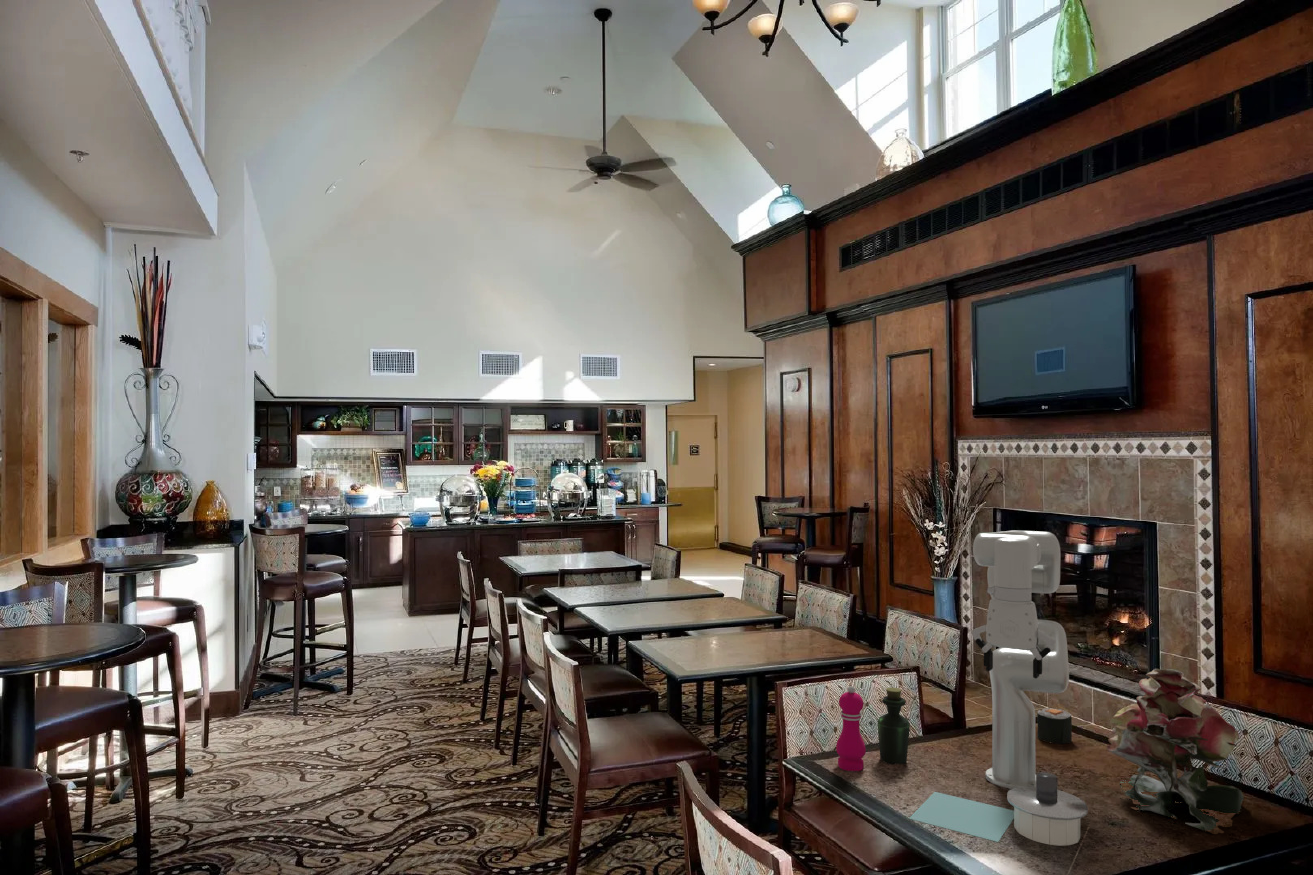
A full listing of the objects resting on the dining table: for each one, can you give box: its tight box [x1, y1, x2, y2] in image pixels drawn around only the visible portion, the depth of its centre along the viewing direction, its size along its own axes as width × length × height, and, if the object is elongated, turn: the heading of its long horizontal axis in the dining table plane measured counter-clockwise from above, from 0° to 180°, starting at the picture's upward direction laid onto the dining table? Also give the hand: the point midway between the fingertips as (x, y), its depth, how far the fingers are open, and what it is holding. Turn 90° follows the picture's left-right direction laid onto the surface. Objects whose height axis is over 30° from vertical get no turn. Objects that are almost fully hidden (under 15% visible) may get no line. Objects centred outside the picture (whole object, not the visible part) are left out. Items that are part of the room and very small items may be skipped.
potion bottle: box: [876, 687, 911, 766], centre depth 213 cm, size 8×8×18 cm
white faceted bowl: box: [1013, 806, 1081, 847], centre depth 171 cm, size 12×12×6 cm
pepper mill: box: [835, 685, 867, 772], centre depth 208 cm, size 7×7×20 cm
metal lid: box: [1006, 771, 1088, 820], centre depth 172 cm, size 15×15×6 cm
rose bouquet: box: [1106, 668, 1244, 831], centre depth 189 cm, size 26×29×30 cm
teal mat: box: [908, 791, 1014, 843], centre depth 179 cm, size 18×18×1 cm
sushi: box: [1036, 707, 1073, 745], centre depth 231 cm, size 8×8×8 cm
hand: (1012, 673), depth 182 cm, fingers open, 9 cm apart
